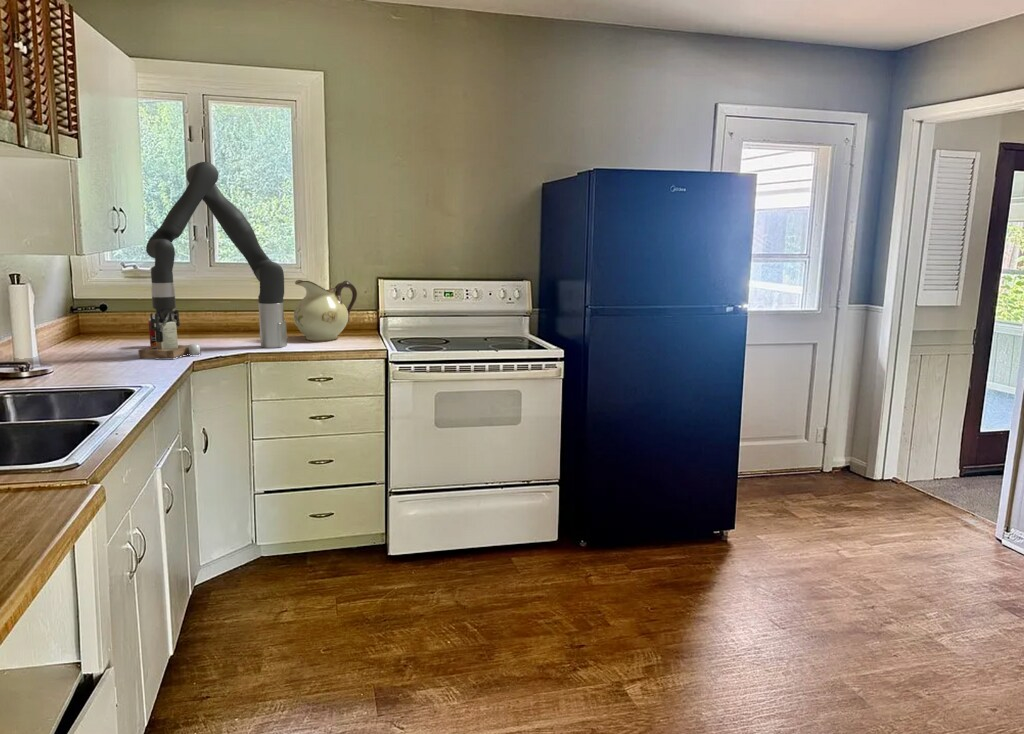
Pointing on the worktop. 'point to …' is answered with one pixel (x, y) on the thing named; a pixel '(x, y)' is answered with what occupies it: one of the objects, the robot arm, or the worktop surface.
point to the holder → (164, 352)
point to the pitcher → (323, 311)
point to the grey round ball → (194, 349)
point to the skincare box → (168, 337)
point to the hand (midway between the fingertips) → (166, 340)
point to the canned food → (152, 335)
